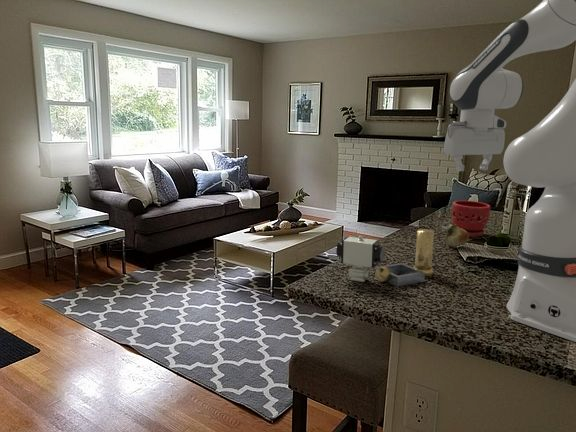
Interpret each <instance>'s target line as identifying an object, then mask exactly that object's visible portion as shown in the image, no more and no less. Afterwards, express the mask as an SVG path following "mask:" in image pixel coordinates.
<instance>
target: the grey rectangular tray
mask: <svg viewBox="0 0 576 432" xmlns="http://www.w3.org/2000/svg"><path fill="white" fill-rule="evenodd" d="M413 267H414V266H410V265H408V264H406V263H403V262H398V263H393V264H388V265H380V266H375V277H376V280H377V281H378V282H380V283H383V282H387V283H389V284H391V285H393V286H394V287H402V286H403V287H404V286H407V285H412V284H418V283H425V277H426V276H425V272H423V271H420V270H418V269H415V268H413ZM398 274H400V275H398Z"/></svg>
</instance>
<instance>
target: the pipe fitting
mask: <svg viewBox="0 0 576 432" xmlns="http://www.w3.org/2000/svg"><path fill="white" fill-rule="evenodd" d="M434 237H435V231H434V230H432V229H428V228H421V229H420V228H419V229H417V231H416V246H415V261H414V265H413V266H412V267H413V268H415V269H418V270H420V271H423V272H425V277H429V276H430V277H431V276H432V275H433V270H434V268H433V267H432V266H433V254H434V253H433V252H434V251H433V250H434Z"/></svg>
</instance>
